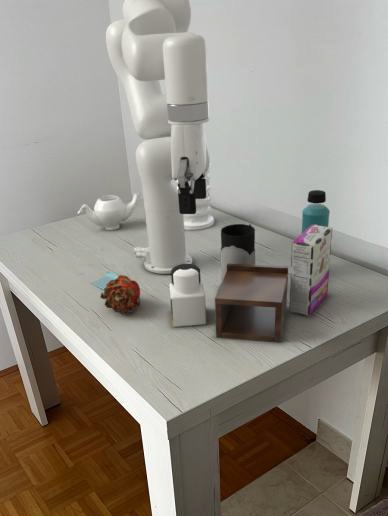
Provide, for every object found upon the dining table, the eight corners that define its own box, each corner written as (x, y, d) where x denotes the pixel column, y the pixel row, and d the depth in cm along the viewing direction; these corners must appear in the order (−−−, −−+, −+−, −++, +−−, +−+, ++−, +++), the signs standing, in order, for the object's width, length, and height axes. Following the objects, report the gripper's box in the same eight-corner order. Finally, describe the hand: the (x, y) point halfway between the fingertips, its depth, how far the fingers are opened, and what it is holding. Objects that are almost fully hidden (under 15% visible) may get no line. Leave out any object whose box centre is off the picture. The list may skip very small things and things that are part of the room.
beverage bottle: (325, 277, 132) (332, 196, 122) (297, 276, 134) (302, 195, 123) (325, 266, 138) (332, 187, 127) (298, 265, 139) (303, 187, 128)
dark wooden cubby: (216, 337, 112) (214, 292, 106) (228, 305, 123) (227, 263, 118) (280, 342, 109) (282, 296, 103) (286, 309, 120) (288, 266, 115)
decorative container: (206, 231, 163) (203, 170, 153) (170, 228, 166) (166, 168, 157) (218, 218, 172) (217, 159, 162) (184, 215, 175) (181, 158, 166)
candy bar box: (307, 291, 127) (311, 223, 118) (327, 295, 124) (334, 226, 116) (287, 312, 119) (290, 241, 110) (309, 317, 117) (314, 245, 108)
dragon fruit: (127, 329, 119) (117, 312, 130) (155, 301, 119) (143, 286, 130) (99, 304, 115) (91, 288, 126) (127, 275, 115) (117, 262, 125)
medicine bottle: (171, 311, 122) (167, 261, 115) (203, 308, 122) (200, 259, 116) (173, 327, 116) (168, 276, 109) (206, 324, 116) (204, 273, 110)
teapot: (77, 228, 170) (72, 199, 165) (138, 217, 176) (135, 188, 171) (84, 238, 163) (79, 208, 158) (147, 226, 169) (144, 196, 164)
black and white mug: (214, 296, 127) (212, 235, 119) (233, 271, 138) (232, 213, 130) (250, 301, 124) (251, 238, 116) (267, 275, 135) (268, 216, 127)
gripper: (179, 106, 107) (184, 193, 116) (155, 122, 93) (163, 219, 102) (217, 105, 106) (219, 193, 115) (198, 121, 91) (203, 220, 100)
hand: (193, 205), depth 108 cm, fingers open, 9 cm apart
